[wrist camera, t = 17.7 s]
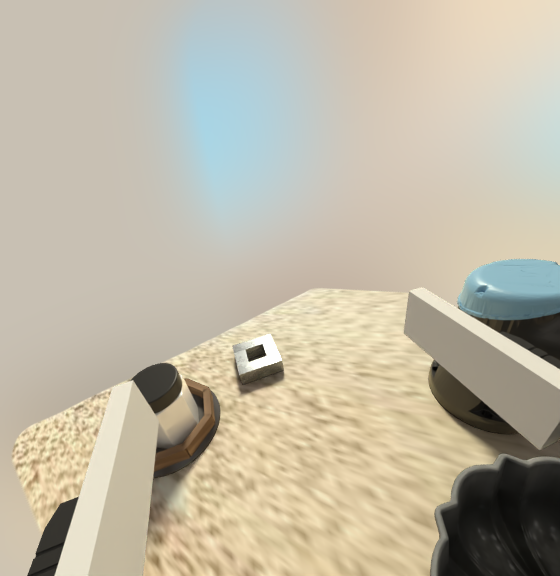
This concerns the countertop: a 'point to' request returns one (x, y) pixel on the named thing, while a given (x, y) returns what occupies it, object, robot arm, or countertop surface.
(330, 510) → the countertop surface
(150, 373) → the jar
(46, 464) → the countertop surface
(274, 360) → the square socket
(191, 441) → the brown octagonal tray
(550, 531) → the bundt pan
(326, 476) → the countertop surface
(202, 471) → the countertop surface
